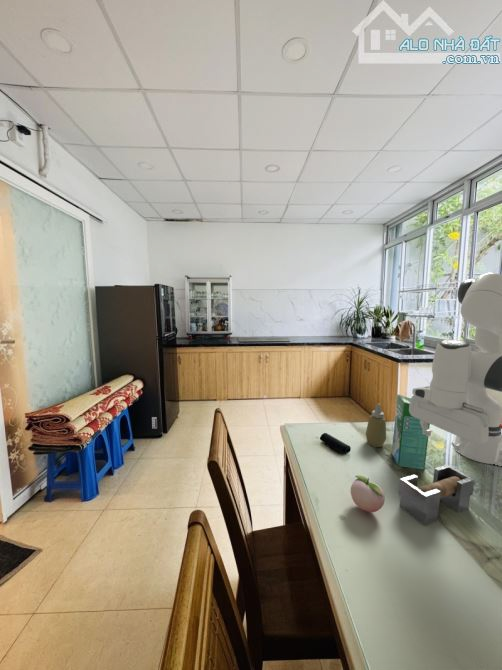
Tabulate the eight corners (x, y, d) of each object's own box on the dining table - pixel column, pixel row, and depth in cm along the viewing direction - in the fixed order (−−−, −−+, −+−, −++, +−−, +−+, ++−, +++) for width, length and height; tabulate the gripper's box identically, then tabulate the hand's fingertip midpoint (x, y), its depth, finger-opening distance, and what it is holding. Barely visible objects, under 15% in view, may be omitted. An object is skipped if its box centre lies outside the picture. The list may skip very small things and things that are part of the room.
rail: (455, 491, 84) (447, 477, 86) (467, 489, 81) (458, 475, 83) (416, 505, 78) (409, 489, 80) (427, 504, 75) (419, 487, 77)
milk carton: (424, 469, 100) (432, 404, 97) (397, 465, 102) (404, 401, 99) (416, 456, 109) (422, 396, 106) (391, 453, 111) (397, 393, 108)
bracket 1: (411, 501, 84) (414, 474, 83) (437, 520, 77) (440, 491, 75) (397, 506, 82) (400, 478, 81) (422, 526, 74) (425, 496, 73)
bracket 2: (457, 512, 80) (461, 484, 79) (431, 494, 87) (434, 468, 86) (470, 507, 82) (474, 479, 81) (443, 490, 89) (447, 464, 88)
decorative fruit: (342, 506, 81) (345, 475, 80) (358, 495, 86) (360, 466, 85) (373, 528, 73) (376, 494, 72) (387, 514, 78) (391, 482, 77)
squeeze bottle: (386, 442, 119) (390, 403, 117) (384, 451, 112) (388, 409, 110) (366, 437, 123) (370, 399, 121) (363, 445, 116) (366, 404, 114)
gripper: (498, 409, 69) (490, 460, 71) (421, 385, 88) (417, 426, 90) (482, 413, 67) (475, 465, 69) (407, 387, 86) (403, 429, 87)
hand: (442, 442), depth 79 cm, fingers open, 8 cm apart
